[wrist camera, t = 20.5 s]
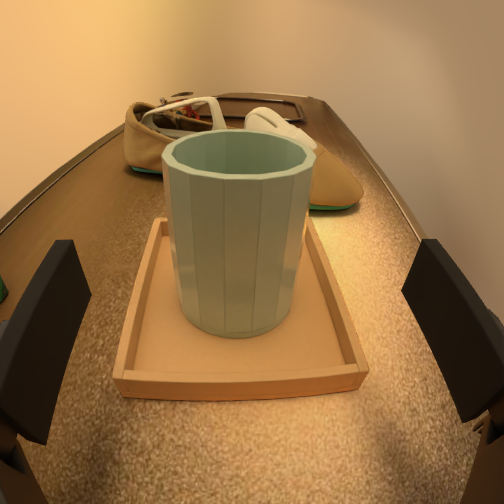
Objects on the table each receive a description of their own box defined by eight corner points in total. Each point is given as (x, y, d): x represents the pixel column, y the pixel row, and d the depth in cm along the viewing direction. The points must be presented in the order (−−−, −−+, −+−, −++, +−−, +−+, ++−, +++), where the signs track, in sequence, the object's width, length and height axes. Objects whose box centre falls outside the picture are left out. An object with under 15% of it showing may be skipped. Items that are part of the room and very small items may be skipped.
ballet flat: (358, 233, 29) (381, 135, 23) (99, 182, 36) (89, 108, 31) (361, 189, 37) (376, 114, 32) (146, 153, 45) (142, 91, 39)
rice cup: (283, 258, 25) (298, 131, 19) (301, 336, 19) (335, 181, 13) (184, 259, 24) (174, 130, 18) (174, 339, 18) (147, 180, 12)
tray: (307, 237, 28) (310, 217, 27) (358, 389, 16) (370, 370, 15) (157, 238, 27) (155, 217, 26) (122, 396, 15) (111, 378, 14)
